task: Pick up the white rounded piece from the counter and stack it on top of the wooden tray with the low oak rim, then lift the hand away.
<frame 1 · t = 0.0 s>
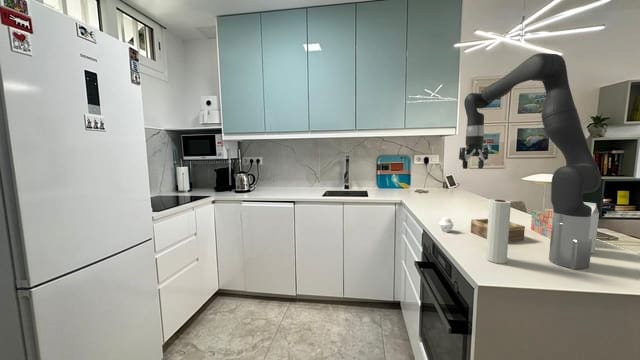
hand: (472, 168, 131), 29 cm above the worktop, tool pointing down, fingers open, 8 cm apart
wooden tray: (495, 237, 118), on the worktop
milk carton: (578, 251, 101), on the worktop
paper towel roll: (495, 260, 93), on the worktop
white rounded piece: (446, 231, 126), on the worktop
stack of blocks: (551, 237, 118), on the worktop
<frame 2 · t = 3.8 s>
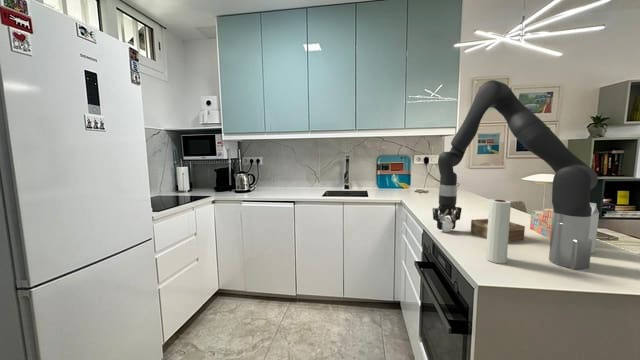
hand: (446, 228, 126), 1 cm above the worktop, tool pointing down, fingers closed on white rounded piece, 6 cm apart
white rounded piece: (446, 231, 126), on the worktop, touching gripper
everything else where it was.
when the fingers open (7 cm above the worktop, at t = 10.7 s): white rounded piece drops 1 cm, point 4 cm above the worktop.
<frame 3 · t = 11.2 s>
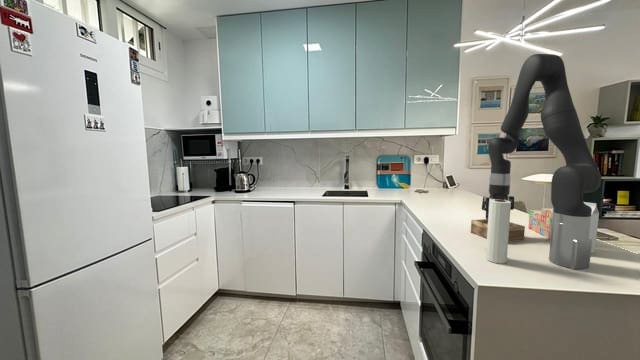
hand: (497, 219, 117), 8 cm above the worktop, tool pointing down, fingers open, 8 cm apart
white rounded piece: (496, 226, 118), point 4 cm above the worktop
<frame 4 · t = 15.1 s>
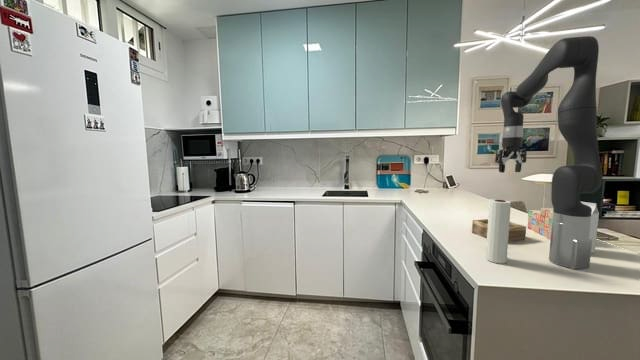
hand: (509, 172, 122), 28 cm above the worktop, tool pointing down, fingers open, 8 cm apart
wooden tray: (497, 237, 118), on the worktop, touching white rounded piece
white rounded piece: (497, 226, 118), point 4 cm above the worktop, touching wooden tray
at the end: white rounded piece inside the target area on the wooden tray (0.3 cm from its centre), point 4.9 cm above the wooden tray's base; white rounded piece tilted 2°; white rounded piece touching wooden tray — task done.
